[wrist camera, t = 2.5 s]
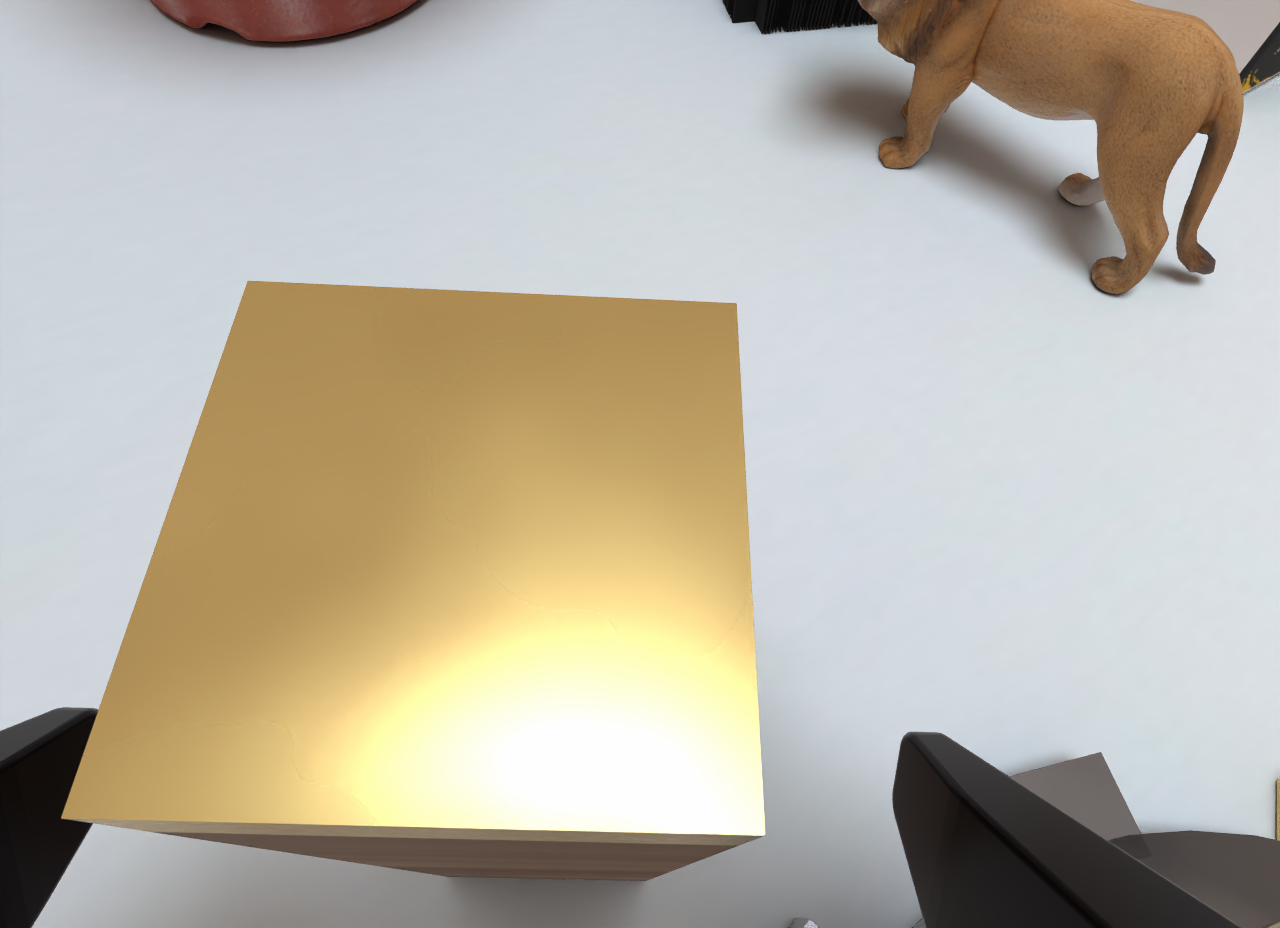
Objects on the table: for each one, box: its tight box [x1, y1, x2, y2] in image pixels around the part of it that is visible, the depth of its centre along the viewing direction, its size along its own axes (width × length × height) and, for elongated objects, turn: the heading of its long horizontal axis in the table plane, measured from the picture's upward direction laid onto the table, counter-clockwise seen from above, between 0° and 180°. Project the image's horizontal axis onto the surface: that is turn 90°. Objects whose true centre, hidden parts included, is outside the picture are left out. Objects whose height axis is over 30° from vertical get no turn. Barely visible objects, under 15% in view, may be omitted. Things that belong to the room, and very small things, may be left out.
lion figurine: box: [858, 0, 1243, 294], centre depth 23 cm, size 15×5×9 cm, turn 56°
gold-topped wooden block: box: [61, 281, 765, 881], centre depth 11 cm, size 4×4×13 cm
